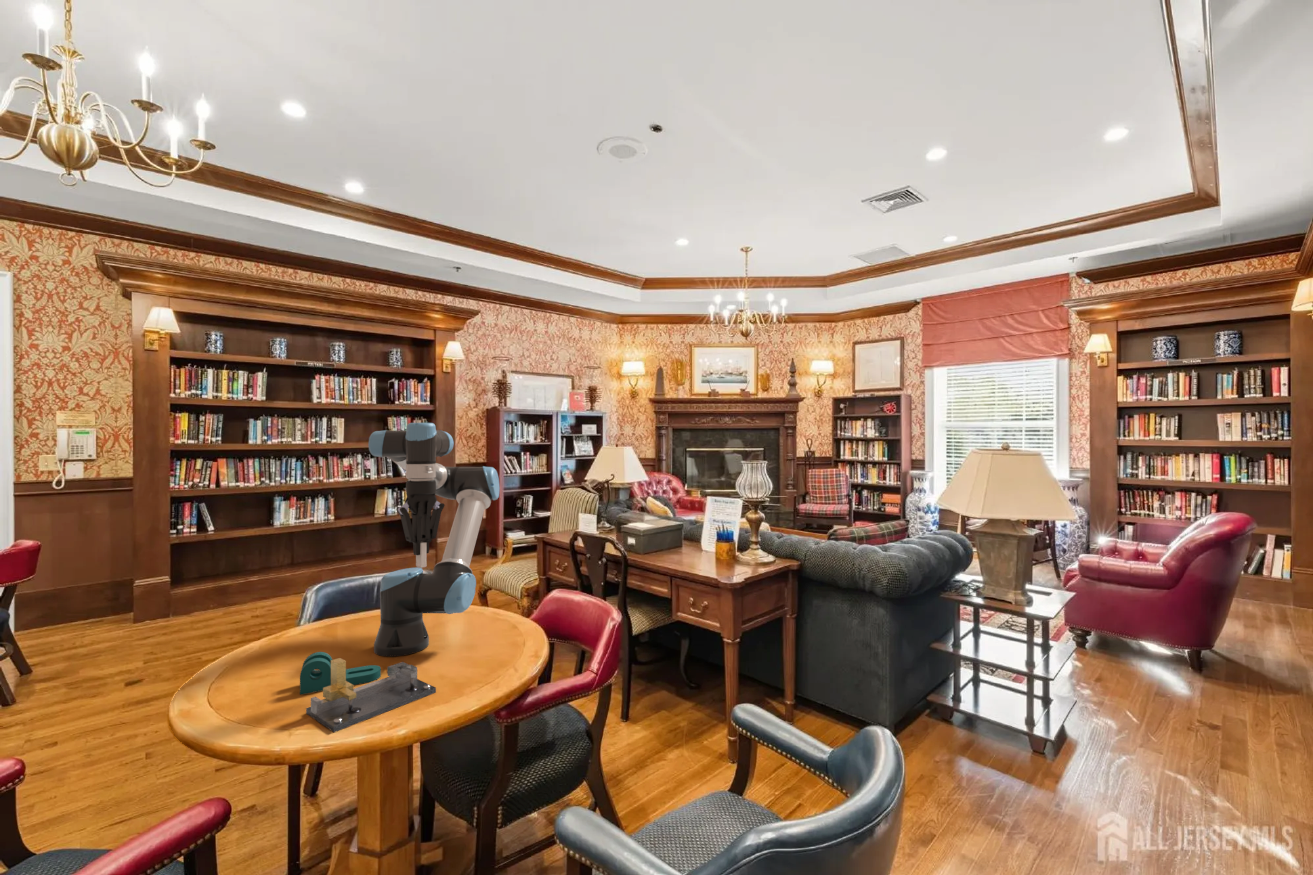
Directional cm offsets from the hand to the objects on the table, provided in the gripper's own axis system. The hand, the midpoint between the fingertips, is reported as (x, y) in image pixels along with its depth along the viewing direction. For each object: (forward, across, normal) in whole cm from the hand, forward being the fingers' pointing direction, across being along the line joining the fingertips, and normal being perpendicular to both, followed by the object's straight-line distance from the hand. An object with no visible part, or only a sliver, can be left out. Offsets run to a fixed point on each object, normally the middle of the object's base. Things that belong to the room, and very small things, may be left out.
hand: (421, 566), depth 154 cm
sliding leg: (+27, -24, -8) cm, 37 cm away
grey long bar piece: (+27, -17, -8) cm, 33 cm away
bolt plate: (+28, -17, -8) cm, 34 cm away
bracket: (+29, -16, +10) cm, 35 cm away
